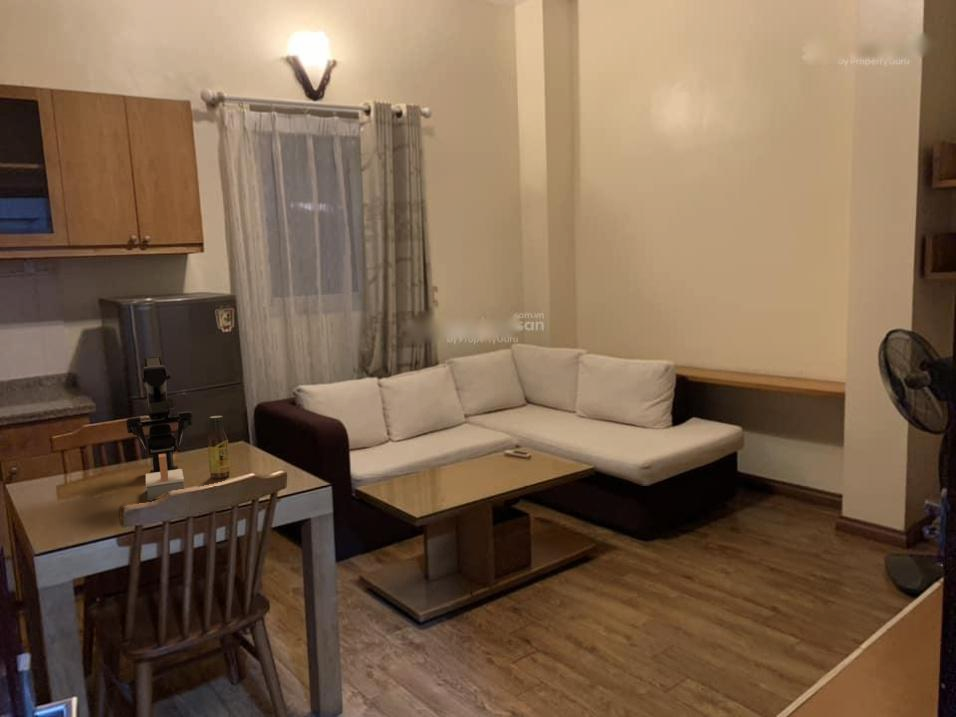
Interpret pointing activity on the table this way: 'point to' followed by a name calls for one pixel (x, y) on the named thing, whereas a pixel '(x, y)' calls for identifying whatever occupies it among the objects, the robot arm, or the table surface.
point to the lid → (164, 474)
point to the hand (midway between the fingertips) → (162, 446)
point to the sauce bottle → (218, 449)
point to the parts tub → (163, 489)
